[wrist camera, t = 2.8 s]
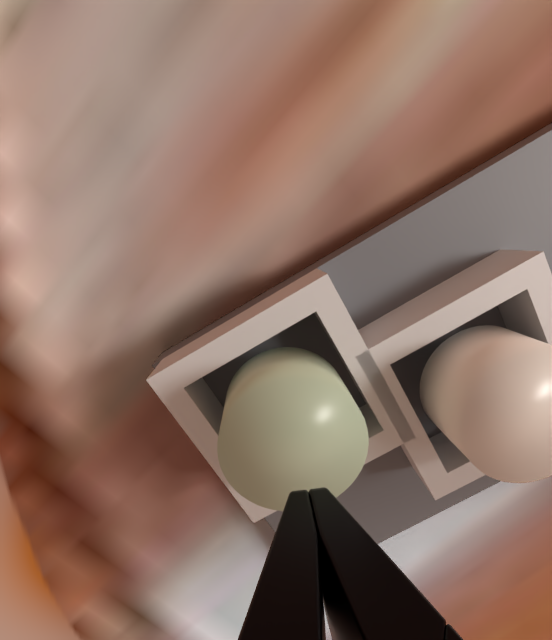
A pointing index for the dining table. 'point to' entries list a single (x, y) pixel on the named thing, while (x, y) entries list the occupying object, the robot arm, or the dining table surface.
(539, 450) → the white button
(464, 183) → the button panel
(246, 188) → the dining table surface
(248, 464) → the sage button
